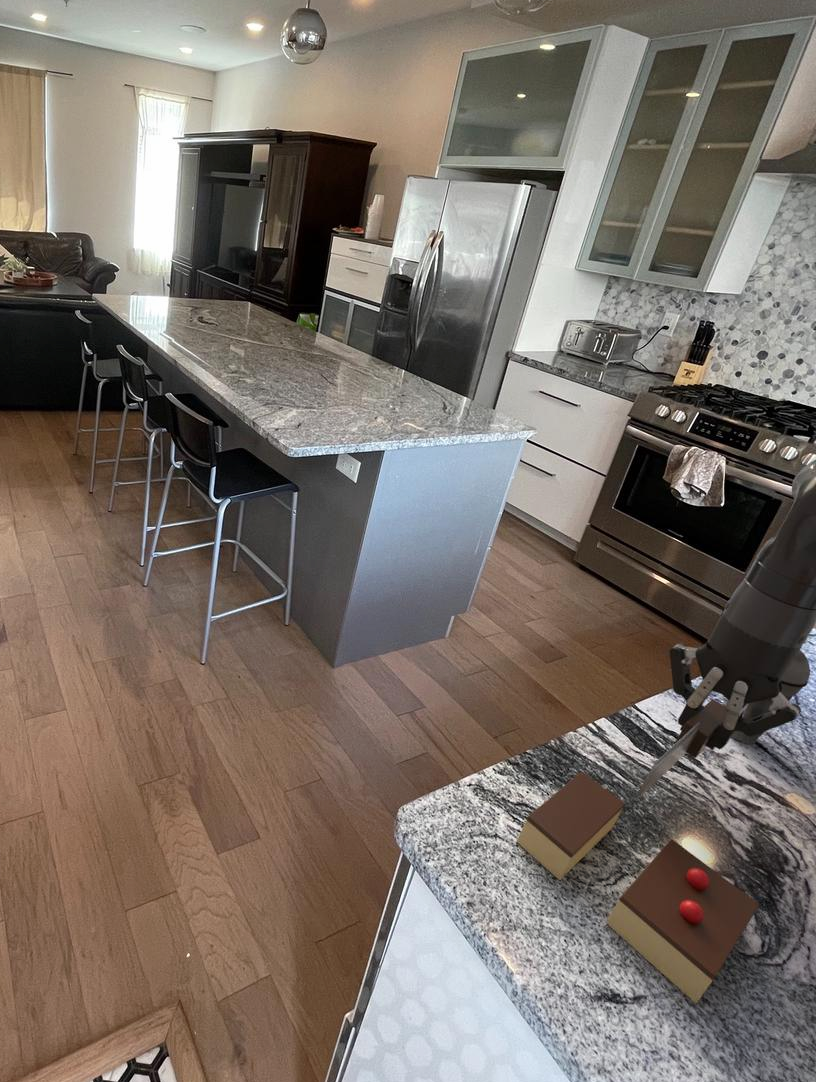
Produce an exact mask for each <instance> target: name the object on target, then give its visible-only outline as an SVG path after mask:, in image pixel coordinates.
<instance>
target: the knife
mask: <svg viewBox="0 0 816 1082" xmlns="http://www.w3.org/2000/svg"><path fill="white" fill-rule="evenodd" d="M703 706H704V707H703V708H702V709H701V710H700V711H699V712H698V713H697V714H695V715H694V716H693V717H692V718H691V719H690V720H689V721H688V722H687V723H686V724H685V726H684V727H683V729H682V731H681V730H680V732H679V735H678V736H677V738H676V739H675V742H674V743H673V745H672V747H670V748H669V750H667V751H666V752H665V753H664V754H663V755H662V756H661V757H659V758H658V759H657V761H656V762H654V763H653V764H652V766H651V768H650V770H649V772H648V773H647V775H646V777H645V779H644V781H643V783H642V785H641V786H640V788H639V790H638V792H637V793H636V795H637V796H638V797H639V798H642V796H644V794H646V793H647V791H649V789H651V788H652V787H653V786H654V785H655V784H656V783H657V782H658V781H659V780H660V779H661V778H662V777H663V776H664V775H665V774H666V773H667V772H668V771H669V770H671V768H673V766H674V765H675V764H676V763H677V762H678V761H679V760H680V759H682V757H683V756H684V755H686V754H688V755H690V756H691V757H692V758H694V759H696V758H698V757H699V755H701V753H702V752H703V751H704V750H705V749H706V748H708V747H707V745H708V743H709V741H710V740H711V738H712V736H713V735H714V733H715V731H716V730H717V728H718V725H719V724H720V723H721V722H722V721H723V720H724V717H725V714H726V711H727V710H726V709H727V707H726V706H725V704H722V703H721V702H719V701H717V700H715V699H713V698H712V699H711V700H710V701H708V702H707V703H706V704H705V705H703Z"/></svg>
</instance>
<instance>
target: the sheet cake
mask: <svg viewBox="0 0 816 1082" xmlns="http://www.w3.org/2000/svg"><path fill="white" fill-rule="evenodd" d="M759 906H760V904H759V903H758V902H757V901H755V900H754V899H753V898H752V897H750V896H749V895H748V894H746V893H745V892H743V891H742V890H741V889H739V887H737V886H736V885H734V884H733V883H732V882H731V881H729V880H727V879H726V878H725V877H723V876H722V875H720V873H718V872H717V871H715V870H714V869H713V868H711V867H710V866H708V865H707V863H705V862H703V861H702V860H701V859H699V858H698V857H697V856H696V855H694V854H693V853H691V852H690V851H689V850H688V849H686V848H685V847H683V845H680V844H679V843H678V842H677V841H676V840H674V839H672V838H670V840H669V841H668V842H667V843H666V844H665V845H664V846H663V848H661V850H660V851H659V852H658V853H657V854H656V856H654V858H653V859H652V860H651V862H649V864H647V866H646V867H645V868H644V869H643V871H642V872H641V873H640V874H639V875H638V876H637V878H635V880H634V881H633V882H632V883H631V884H630V885H629V887H628V888H627V889H626V890H625V891H624V892H623V893H622V894H621V895H620V898H619V899H618V901H617V902H616V904H615V906H614V908H613V909H612V911H611V913H610V915H609V917H608V918H607V920H606V922H605V923H606V925H608V927H610V928H611V929H612V930H613V931H614V932H615V933H617V934H618V936H620V937H621V938H622V939H623V940H625V941H626V942H627V943H628V944H629V945H630V946H631V947H632V948H633V949H635V950H636V951H637V952H638V953H639V954H640V956H642V957H643V958H644V959H645V960H647V962H649V963H650V964H651V965H652V966H653V967H654V968H656V970H658V971H659V972H660V973H661V974H662V975H664V977H666V979H668V980H669V982H671V983H672V984H673V985H675V987H676V988H678V989H679V990H680V991H681V992H682V993H683V994H684V995H686V996H687V997H688V998H689V999H690V1000H691V1001H692V1003H695V1004H697V1003H698V1002H699V1001H700V999H701V998H702V997H703V995H704V993H706V991H707V989H708V988H709V987H710V985H711V984H712V982H713V981H714V980H715V978H716V977H717V975H718V973H719V972H720V970H721V969H722V967H723V965H724V964H725V962H726V960H727V959H728V957H729V956H730V954H731V952H732V951H733V949H734V947H735V946H736V944H737V942H738V941H739V939H740V938H741V936H742V934H743V932H744V931H745V929H746V928H747V927H748V925H749V923H750V921H751V920H752V918H753V916H754V914H755V913H756V911H757V910H758V908H759Z"/></svg>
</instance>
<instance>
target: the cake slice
mask: <svg viewBox="0 0 816 1082" xmlns="http://www.w3.org/2000/svg"><path fill="white" fill-rule="evenodd" d="M625 806H626V802H624V801H623V800H621V799H620V798H618V796H616V795H614V794H613V793H612V792H610V791H609V790H608V789H606V788H605V787H604V786H602V785H601V784H599V783H598V781H596V780H594V779H593V778H592V777H590V776H589V775H588V774H586V773H585V772H583V771H581V772H579V773H578V774H577V775H576V776H574V777H573V778H572V779H571V780H569V782H567V783H566V784H565V785H564V786H562V787H561V788H560V789H559V790H558V791H556V792H555V793H554V794H553V795H552V796H551V797H549V798H548V799H547V800H546V801H544V802H543V803H542V804H541V805H539V806H538V807H537V808H536V809H535V810H533V811H532V812H531V813H530V814H529V815H527V817H526V820H525V822H524V824H523V826H522V829H521V831H520V833H519V835H518V837H517V840H516V843H517V844H518V845H519V846H520V847H522V849H524V850H525V851H526V852H527V853H528V854H529V855H530V856H532V857H533V858H534V859H535V860H536V861H537V862H539V864H541V866H543V867H544V868H545V869H546V870H547V871H548V872H549V873H551V874H552V876H554V877H555V878H556V879H557V880H558V881H561V880H562V879H563V878H564V877H565V876H566V875H567V874H568V873H569V872H570V871H571V870H572V869H573V868H574V867H575V866H576V865H577V864H578V863H579V862H580V861H581V860H582V859H583V858H584V857H585V856H586V855H587V854H588V853H589V852H591V850H592V849H593V848H594V847H595V846H596V845H598V843H599V842H600V841H601V840H602V839H604V837H606V835H607V834H608V833H609V832H610V831H611V830H612V829H613V828H614V826H615V824H616V822H617V820H618V818H619V817H620V814H621V813H622V810H624V809H623V808H624V807H625Z"/></svg>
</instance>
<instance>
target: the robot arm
mask: <svg viewBox="0 0 816 1082" xmlns="http://www.w3.org/2000/svg"><path fill="white" fill-rule="evenodd" d="M791 494H792V498H793V503H792V505H791V507H790V509H789V512H788V513H787V515H786V517H785V519H784V521H783V523H781V526H780V528H779V529H778V531H777V533H776V535H775V536H773V537H770V538H769V539H768V540H767V541H766V542H765V543H764V544H763V546H762V547H761V548H760V550H759V551H758V553H757V555H756V557H755V559H754V560H753V562H752V564H751V565H750V568H749V570H748V571H747V573H746V576H744V578H743V580H742V581H741V583H740V584H739V585H738V586H737V587H736V589H735V590H734V592H733V593H732V595H731V597H730V599H729V600H727V602H726V603H725V606H724V610H723V612H722V614H721V615H720V617H719V619H718V620H717V622H716V624H715V625H714V628H713V630H712V631H711V633H710V636H709V637H708V639H707V641H706V642H705V643H704V644H702V645H700V646H699V647H691V646H687V644H685V643H683V642H679V643H677V644H676V645H674V646H673V647H672V648H671V649H670V650H669V661H670V670H671V678H672V687H673V688H672V689H673V692H674V693H675V694H676V695H678V696H681V697H682V698H683V699H684V700H685V702H686V704H685V706H684V708H683V710H682V711H681V713H680V715H679V716H678V719H677V724H678V725H680V726H681V727H680V728H679V731H680V732H681V731H682V729H683V727H684V726H685V724H686V723H687V722H688V721H689V720H690V719H691V718H692V717H693V716H694V715H695V714H697V713H698V712H699V711H700V710H701V709H702V708H703V707H704V706H705V705H704V704H705V701H706V700H707V699H708V698H709V696H710V695H711V694H712V693H713V692H714V693H717V694H719V695H720V694H721V695H722V696H723V697H724V698H726V699H727V700H730V701H729V703H728V706H727V709H726V710H727V711H726V714H725V717H724V720H723V721H722V722H721V723H720V724H719V725H718V728H717V730H716V731H715V733H714V735H713V736H712V738H711V740H710V741H709V743H708V745H707V747H706V748H708V749H710V750H711V751H713V750H715V748H716V749H718V750H721V749H723V748H725V746H726V745H727V744H728V743H729V741H730V740H731V739H732V738H731V736H732V735H733V733H734V731H740V732H743V733H744V734H745V735H747V736H754V735H757V734H759V733H762V732H764V733H765V732H767V731H770V730H772V729H775V728H778V727H781V726H783V725H785V724H788V723H790V722H793V721H795V719H796V718H797V717H798V716H799V715H800V714H801V712H802V709H801V708H802V707H800V705H798V704H797V703H794V702H790V701H788V700H787V699H786V698H785V696H784V695H783V694H782V693H781V691H782V683H781V681H782V678H783V676H784V674H785V673H786V671H787V670H788V668H789V666H790V665H791V663H792V661H793V660H794V658H795V657H796V655H797V653H798V652H799V650H801V649H802V647H803V646H804V644H805V642H806V641H807V639H808V637H809V636H810V634H811V632H812V631H813V629H814V627H815V625H816V458H815V459H813V460H812V461H810V462H809V463H807V464H806V465H804V467H802V468H801V470H799V471H798V473H796V475H795V477H794V478H793V480H792V484H791ZM695 658H696V662H697V665H698V668H699V672H700V676H701V679H702V681H701V682H700V683H699V685H698V686H696V688H694V686H693V682H692V672H691V664H692V663H693V662H694V661H695ZM767 699H772V701H773V703H772V704H771V705H770V706H769V711H770V712H768V713H765V714H763V715H760V716H758V717H755V718H753V719H746V718H743V715H744V712H745V710H746V708H747V706H748V704H749V703H753V702H758V701H762V700H767Z"/></svg>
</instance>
